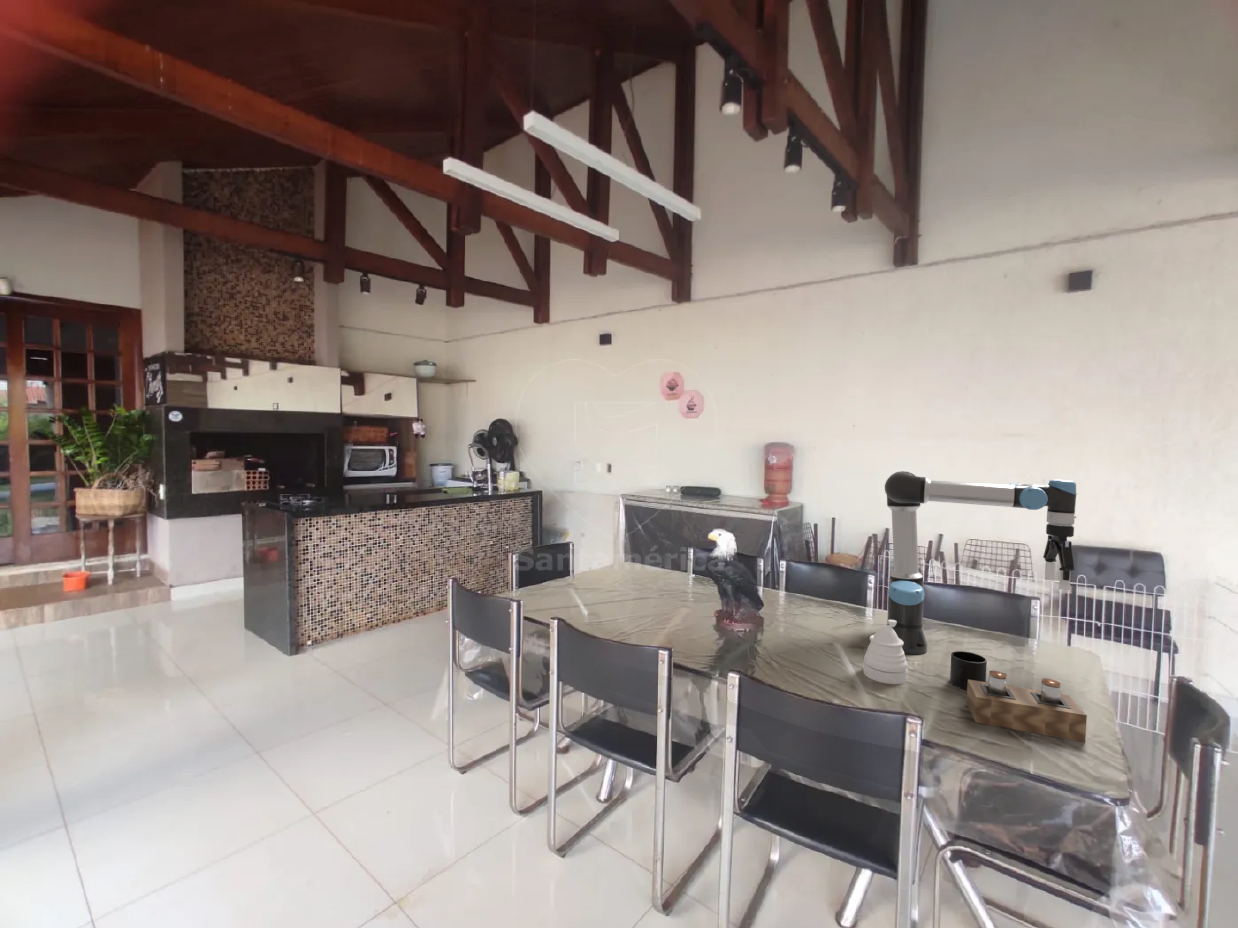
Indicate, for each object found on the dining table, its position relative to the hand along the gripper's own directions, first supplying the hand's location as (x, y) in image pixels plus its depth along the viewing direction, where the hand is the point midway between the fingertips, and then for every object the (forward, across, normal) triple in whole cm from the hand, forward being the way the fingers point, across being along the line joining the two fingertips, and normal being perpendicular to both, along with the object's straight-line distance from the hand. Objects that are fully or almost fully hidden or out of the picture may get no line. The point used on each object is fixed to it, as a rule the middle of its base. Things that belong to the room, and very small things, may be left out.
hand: (1056, 584), depth 192 cm
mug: (+28, -36, +33) cm, 56 cm away
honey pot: (+28, -37, +56) cm, 73 cm away
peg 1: (+22, -55, +30) cm, 66 cm away
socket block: (+27, -55, +24) cm, 66 cm away
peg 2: (+22, -55, +18) cm, 62 cm away
